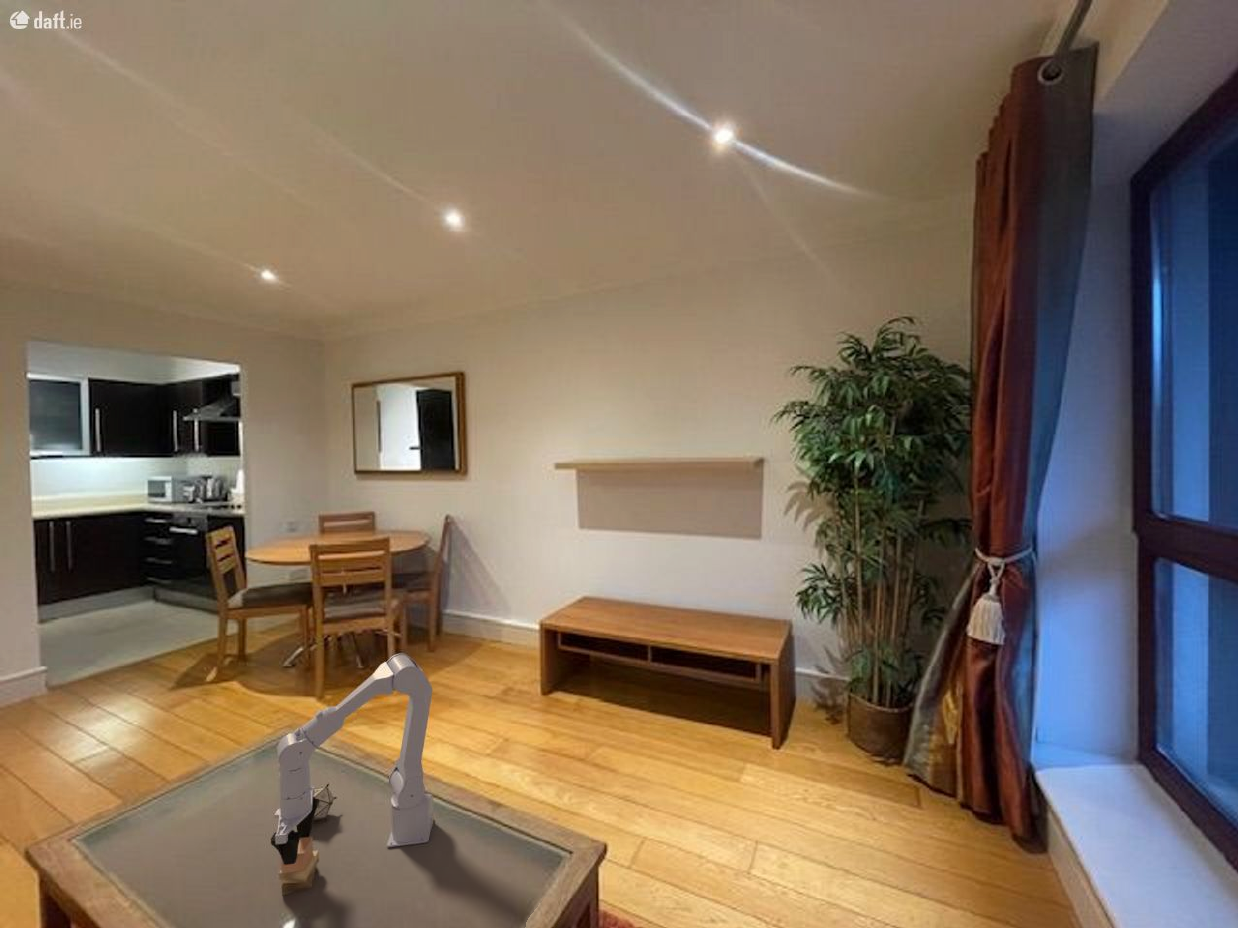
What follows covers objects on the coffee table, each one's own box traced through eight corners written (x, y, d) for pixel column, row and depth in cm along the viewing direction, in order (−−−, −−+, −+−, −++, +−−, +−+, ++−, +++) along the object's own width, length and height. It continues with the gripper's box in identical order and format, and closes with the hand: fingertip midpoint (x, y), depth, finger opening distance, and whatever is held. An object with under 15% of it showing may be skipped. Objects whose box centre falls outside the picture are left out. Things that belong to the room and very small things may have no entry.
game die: (319, 836, 131) (312, 824, 125) (292, 820, 133) (284, 807, 126) (346, 800, 138) (341, 786, 132) (320, 785, 140) (313, 771, 133)
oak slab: (319, 860, 117) (318, 850, 117) (305, 882, 112) (305, 871, 112) (293, 862, 117) (293, 851, 117) (279, 883, 111) (279, 872, 111)
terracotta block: (312, 853, 116) (312, 836, 116) (304, 870, 112) (303, 852, 112) (291, 856, 115) (290, 839, 115) (281, 873, 111) (280, 855, 111)
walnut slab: (316, 869, 118) (316, 858, 118) (311, 889, 113) (311, 878, 113) (288, 876, 116) (288, 865, 116) (282, 896, 111) (281, 886, 111)
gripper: (290, 770, 119) (292, 826, 120) (257, 816, 105) (260, 880, 106) (323, 767, 120) (325, 822, 121) (295, 812, 106) (298, 875, 107)
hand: (297, 849), depth 114 cm, fingers open, 7 cm apart
